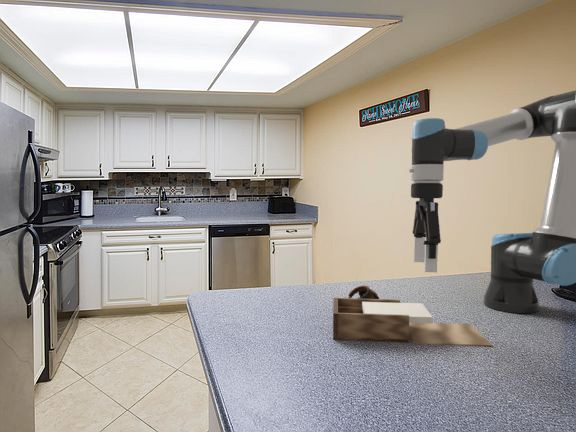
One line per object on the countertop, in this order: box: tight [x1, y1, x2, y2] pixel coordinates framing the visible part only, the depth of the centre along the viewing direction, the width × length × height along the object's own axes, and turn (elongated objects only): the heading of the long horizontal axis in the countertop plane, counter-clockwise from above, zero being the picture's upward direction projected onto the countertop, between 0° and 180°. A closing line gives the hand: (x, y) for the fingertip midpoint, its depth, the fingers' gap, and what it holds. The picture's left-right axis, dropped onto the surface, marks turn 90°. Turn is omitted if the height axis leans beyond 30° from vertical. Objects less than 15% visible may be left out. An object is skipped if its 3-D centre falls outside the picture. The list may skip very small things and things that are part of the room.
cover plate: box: [362, 302, 434, 323], centre depth 106 cm, size 16×12×2 cm
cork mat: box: [409, 322, 493, 347], centre depth 105 cm, size 18×15×1 cm
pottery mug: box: [348, 285, 380, 299], centre depth 127 cm, size 12×10×8 cm
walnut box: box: [332, 297, 410, 344], centre depth 107 cm, size 18×15×6 cm
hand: (424, 266), depth 104 cm, fingers open, 13 cm apart
